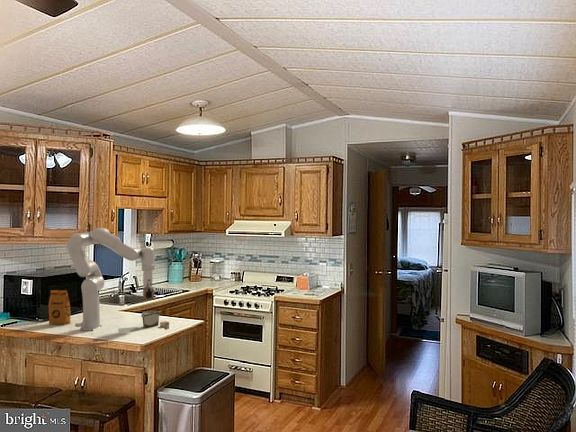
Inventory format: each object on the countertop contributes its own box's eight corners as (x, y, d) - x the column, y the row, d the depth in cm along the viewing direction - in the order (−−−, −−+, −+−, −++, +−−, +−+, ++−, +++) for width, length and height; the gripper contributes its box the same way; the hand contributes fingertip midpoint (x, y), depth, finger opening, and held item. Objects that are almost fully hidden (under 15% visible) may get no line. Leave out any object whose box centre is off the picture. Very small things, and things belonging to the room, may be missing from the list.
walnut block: (143, 298, 290) (143, 289, 290) (143, 297, 296) (142, 287, 296) (154, 298, 292) (153, 288, 292) (152, 296, 298) (152, 287, 298)
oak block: (163, 329, 290) (163, 323, 290) (160, 328, 293) (160, 322, 293) (169, 328, 293) (169, 322, 293) (166, 327, 296) (166, 321, 296)
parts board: (118, 334, 279) (118, 332, 279) (118, 330, 288) (118, 328, 288) (140, 332, 284) (140, 330, 284) (138, 328, 293) (138, 326, 293)
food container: (154, 325, 301) (154, 309, 301) (160, 326, 297) (160, 311, 297) (137, 329, 291) (137, 313, 291) (143, 330, 287) (142, 314, 287)
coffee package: (64, 326, 302) (64, 291, 302) (46, 325, 304) (46, 291, 304) (73, 322, 312) (73, 289, 312) (55, 322, 314) (55, 288, 314)
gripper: (140, 266, 301) (140, 295, 301) (143, 269, 285) (143, 299, 285) (152, 266, 303) (153, 294, 303) (155, 268, 287) (156, 298, 287)
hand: (148, 296), depth 294 cm, fingers closed on walnut block, 6 cm apart
